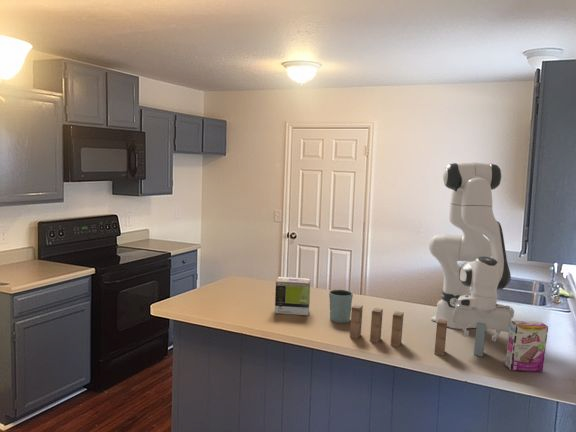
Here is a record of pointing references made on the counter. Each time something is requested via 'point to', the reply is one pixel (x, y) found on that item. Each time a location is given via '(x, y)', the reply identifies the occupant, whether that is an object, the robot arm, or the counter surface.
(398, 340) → the domino
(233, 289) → the counter surface
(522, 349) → the candy bar box
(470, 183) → the robot arm
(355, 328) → the domino
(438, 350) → the brown wooden block
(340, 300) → the teal cup
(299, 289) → the tea box
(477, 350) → the light blue domino
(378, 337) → the domino
